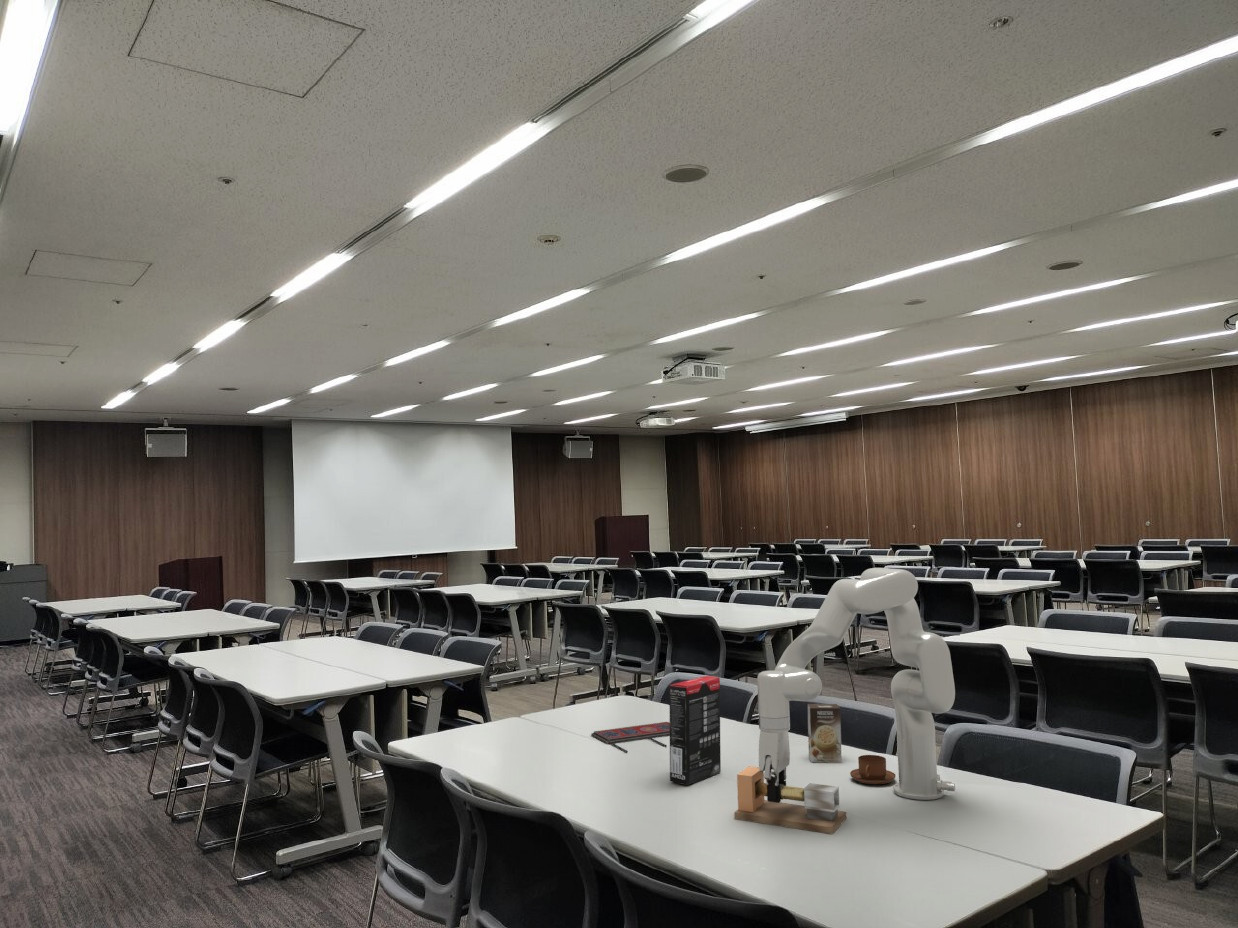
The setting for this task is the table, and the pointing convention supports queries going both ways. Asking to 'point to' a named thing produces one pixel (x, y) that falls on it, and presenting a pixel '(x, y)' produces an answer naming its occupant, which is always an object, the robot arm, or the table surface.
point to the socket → (749, 789)
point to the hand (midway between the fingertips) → (777, 798)
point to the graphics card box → (694, 729)
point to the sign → (633, 733)
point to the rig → (802, 811)
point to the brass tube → (782, 791)
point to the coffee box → (824, 733)
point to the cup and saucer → (872, 770)
